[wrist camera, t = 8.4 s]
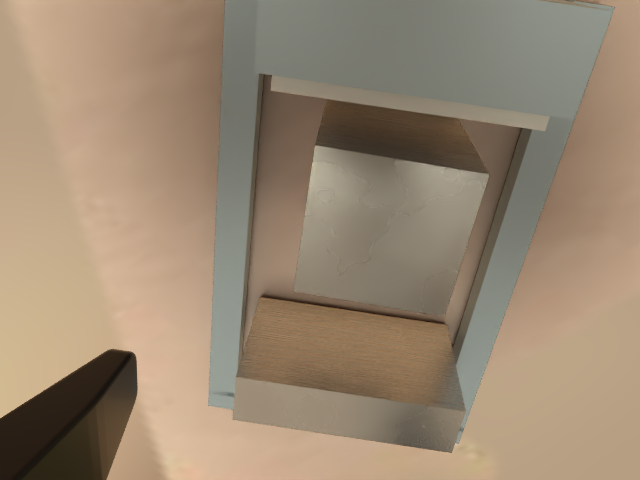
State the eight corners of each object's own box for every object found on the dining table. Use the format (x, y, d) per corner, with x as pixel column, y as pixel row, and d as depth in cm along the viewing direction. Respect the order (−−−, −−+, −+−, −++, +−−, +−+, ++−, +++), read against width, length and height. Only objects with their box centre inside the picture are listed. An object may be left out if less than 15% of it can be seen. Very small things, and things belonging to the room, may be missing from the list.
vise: (455, 426, 25) (474, 526, 21) (213, 390, 25) (181, 482, 21) (601, 4, 17) (687, 21, 12) (234, -50, 17) (186, -51, 12)
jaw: (435, 362, 23) (451, 452, 19) (256, 335, 23) (232, 419, 19) (447, 325, 22) (466, 411, 18) (260, 297, 22) (235, 376, 18)
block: (456, 117, 19) (489, 174, 14) (425, 232, 21) (444, 316, 16) (328, 95, 19) (315, 145, 14) (310, 213, 21) (293, 291, 16)
